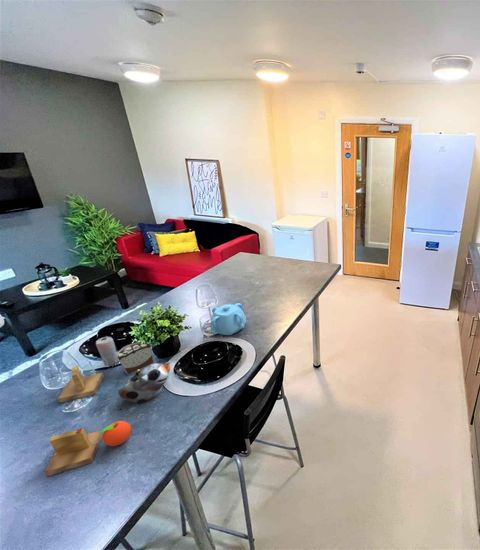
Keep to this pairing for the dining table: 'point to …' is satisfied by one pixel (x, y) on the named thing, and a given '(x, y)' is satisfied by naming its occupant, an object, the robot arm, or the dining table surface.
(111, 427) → the clementine
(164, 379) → the lucky cat figurine
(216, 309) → the decorative pot
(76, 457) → the wooden board
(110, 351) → the pillar candle
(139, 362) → the food container
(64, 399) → the plate
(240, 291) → the dining table surface
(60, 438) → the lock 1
